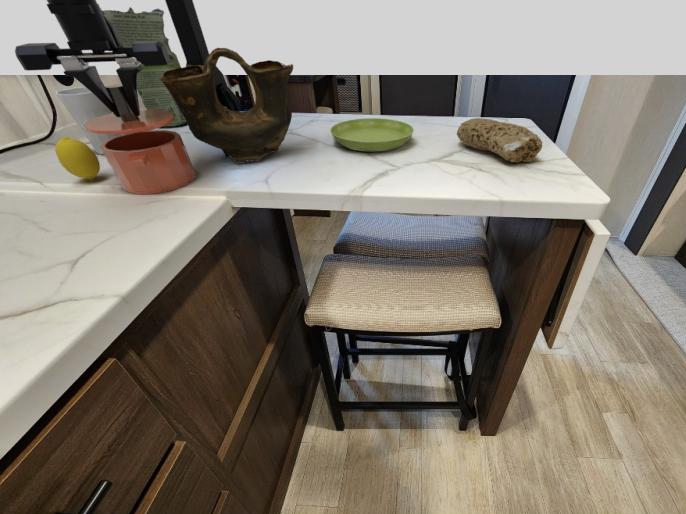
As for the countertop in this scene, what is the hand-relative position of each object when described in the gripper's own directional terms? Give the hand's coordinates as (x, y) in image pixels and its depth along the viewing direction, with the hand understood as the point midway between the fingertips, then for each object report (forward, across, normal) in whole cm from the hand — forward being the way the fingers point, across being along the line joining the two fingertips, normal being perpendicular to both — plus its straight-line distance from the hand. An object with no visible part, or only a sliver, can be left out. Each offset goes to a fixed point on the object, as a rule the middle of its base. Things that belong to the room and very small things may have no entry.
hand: (129, 116), depth 57 cm
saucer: (+12, -47, -8) cm, 49 cm away
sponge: (+12, -72, +9) cm, 73 cm away
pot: (+12, 0, 0) cm, 12 cm away
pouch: (+12, +1, -44) cm, 46 cm away
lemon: (+12, +13, -5) cm, 18 cm away
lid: (+1, 0, 0) cm, 1 cm away
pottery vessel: (+12, -18, -8) cm, 23 cm away
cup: (+12, +13, -24) cm, 30 cm away
